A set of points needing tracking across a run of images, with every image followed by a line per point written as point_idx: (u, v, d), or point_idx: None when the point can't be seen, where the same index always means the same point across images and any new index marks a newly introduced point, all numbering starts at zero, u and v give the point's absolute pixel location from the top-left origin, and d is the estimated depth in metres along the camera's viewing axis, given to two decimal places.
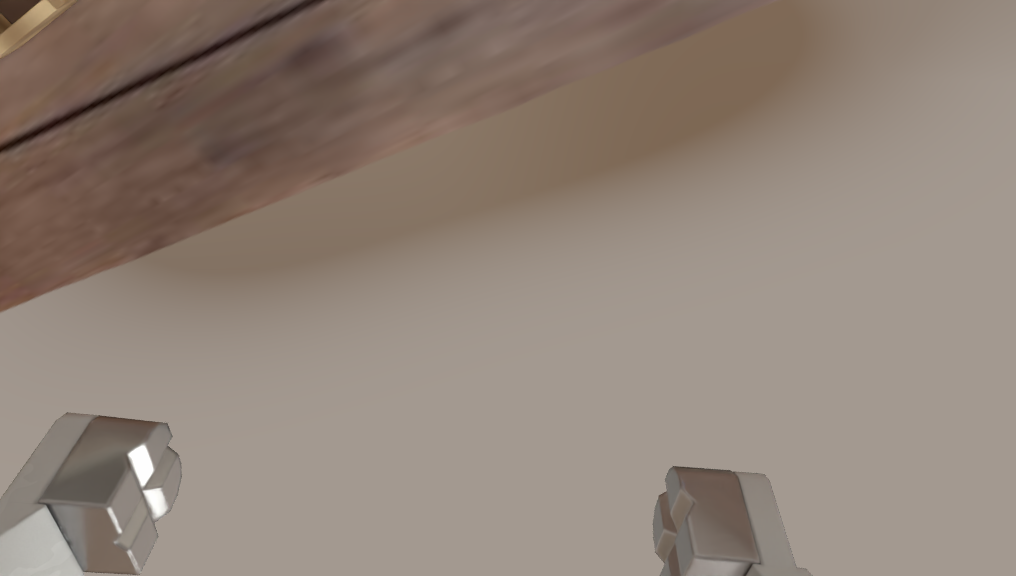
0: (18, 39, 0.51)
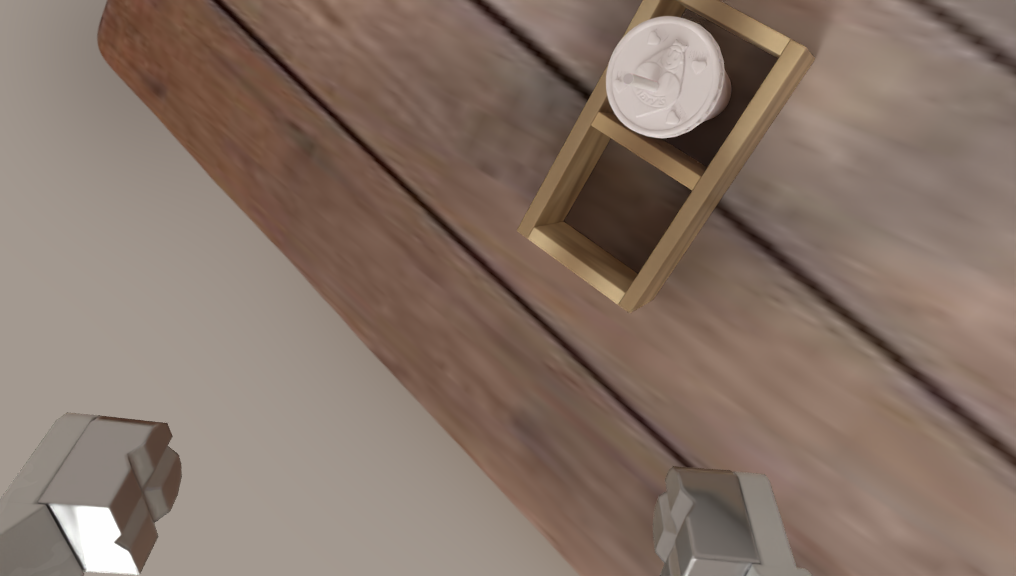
0: (567, 266, 0.47)
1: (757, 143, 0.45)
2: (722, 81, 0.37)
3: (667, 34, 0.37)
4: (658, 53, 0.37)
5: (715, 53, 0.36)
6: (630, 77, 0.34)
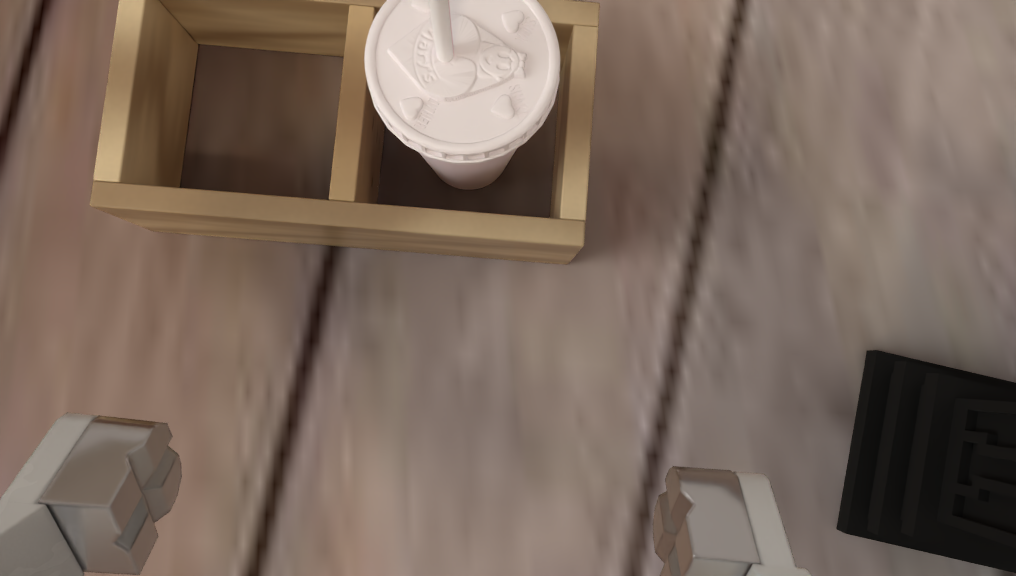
0: (110, 70, 0.27)
1: (437, 253, 0.31)
2: (497, 155, 0.23)
3: (527, 38, 0.23)
4: (495, 37, 0.22)
5: (532, 122, 0.22)
6: None
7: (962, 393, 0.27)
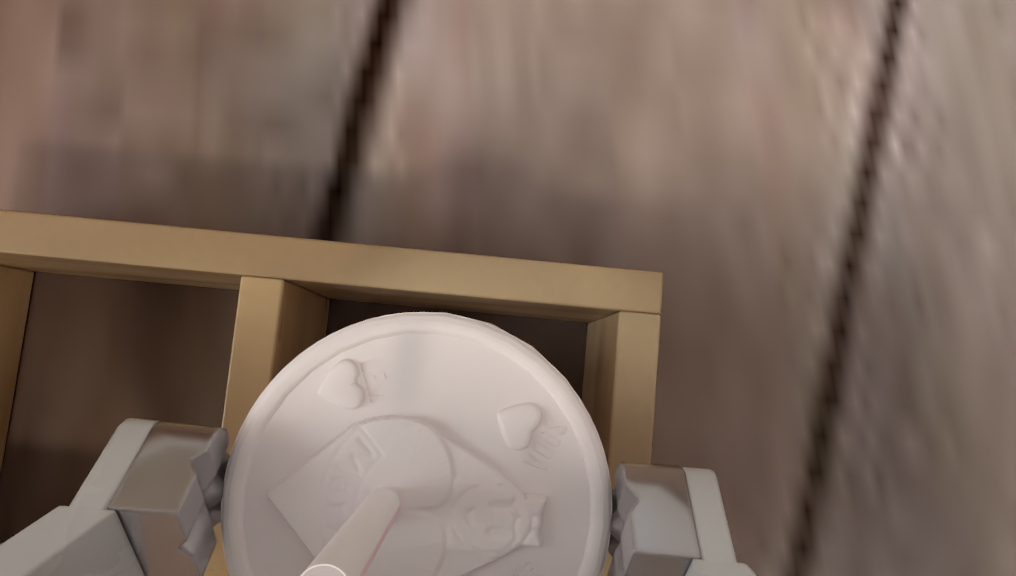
0: None
1: None
2: None
3: (548, 461, 0.11)
4: (485, 462, 0.11)
5: None
6: None
7: None
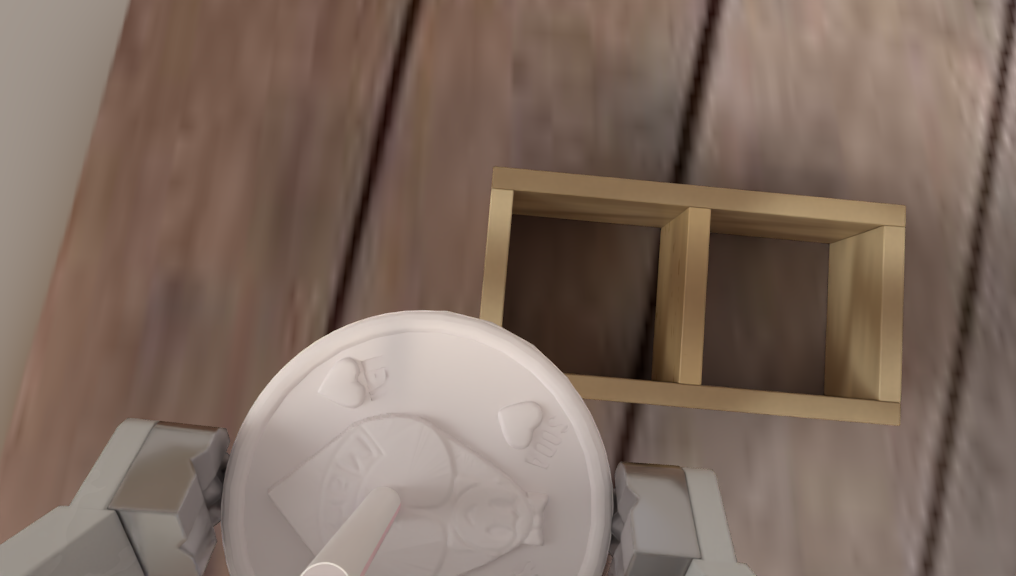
0: (485, 266, 0.30)
1: None
2: None
3: (549, 461, 0.11)
4: (485, 460, 0.11)
5: None
6: None
7: None
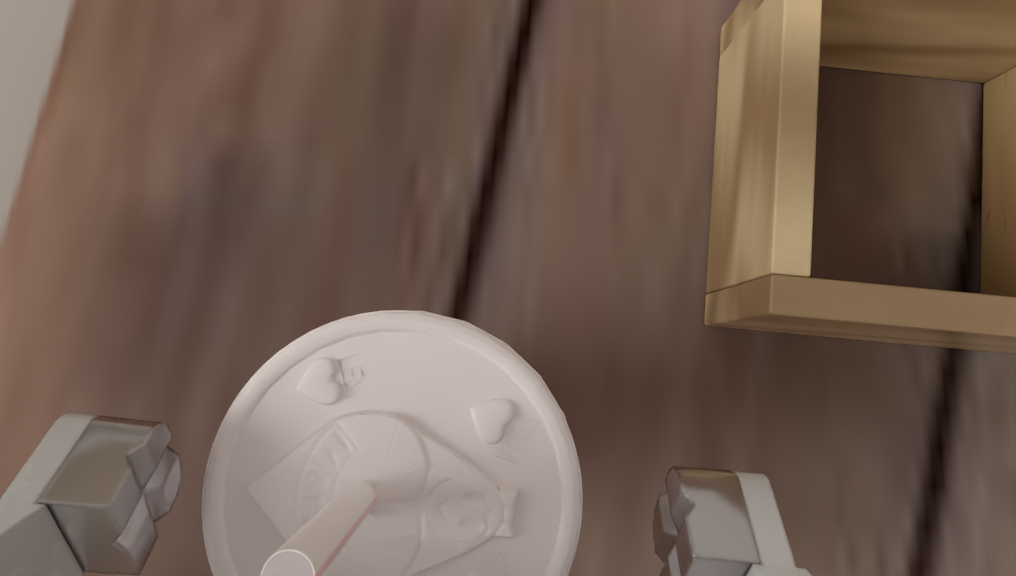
0: (781, 102, 0.17)
1: None
2: None
3: (520, 455, 0.12)
4: (458, 455, 0.12)
5: None
6: None
7: None
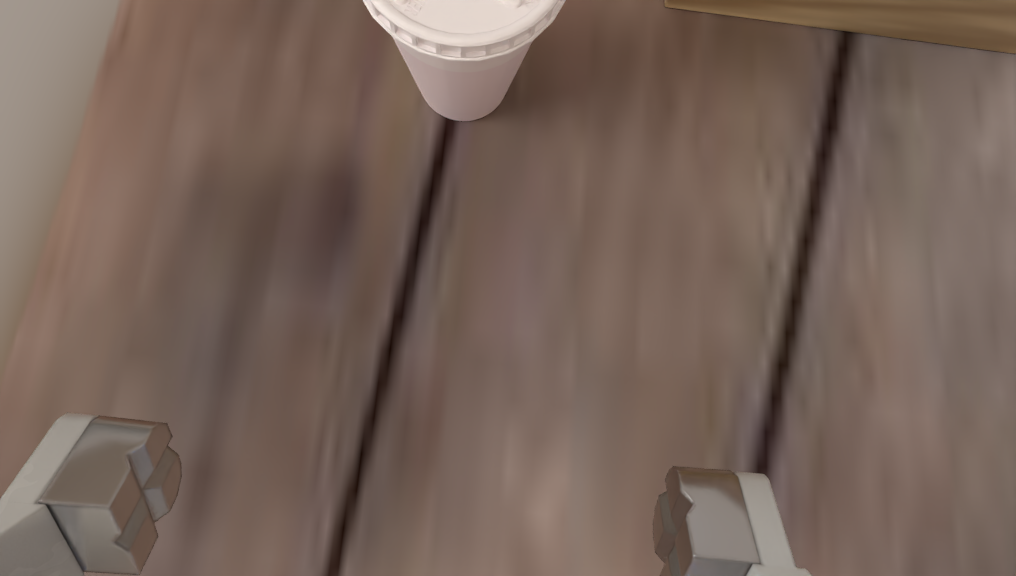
0: None
1: (959, 42, 0.30)
2: (500, 52, 0.20)
3: None
4: None
5: (542, 13, 0.19)
6: None
7: None
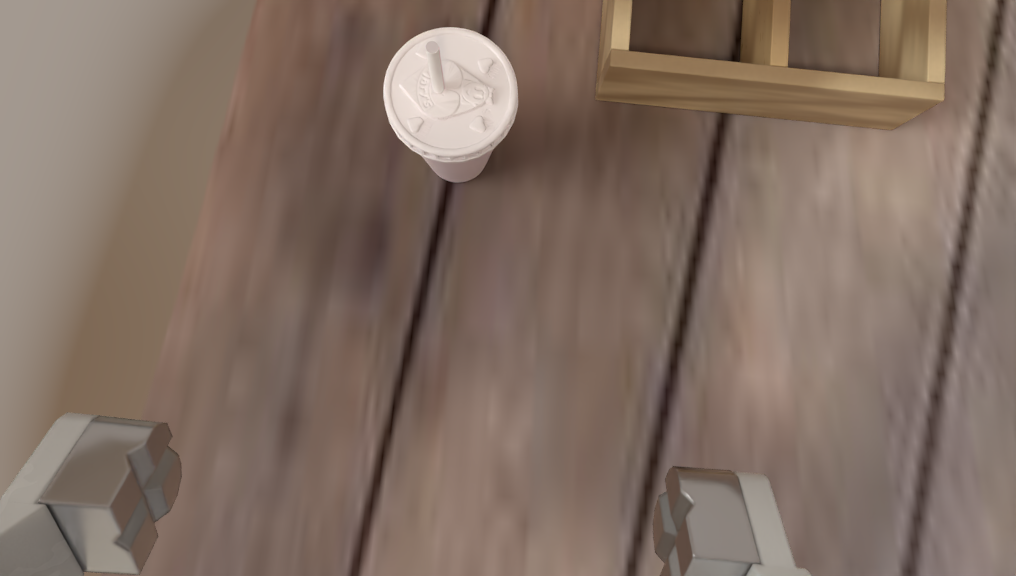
0: None
1: (801, 119, 0.43)
2: (474, 157, 0.33)
3: (495, 77, 0.33)
4: (473, 76, 0.33)
5: (497, 135, 0.32)
6: (434, 48, 0.28)
7: None
